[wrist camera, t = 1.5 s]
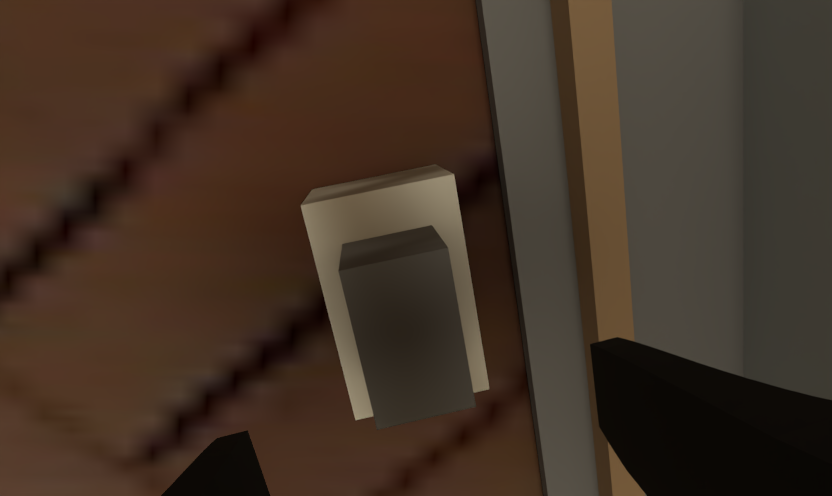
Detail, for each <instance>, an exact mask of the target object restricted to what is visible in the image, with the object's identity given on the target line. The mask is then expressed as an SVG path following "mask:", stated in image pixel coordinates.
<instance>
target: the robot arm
mask: <svg viewBox="0 0 832 496" xmlns="http://www.w3.org/2000/svg"><path fill="white" fill-rule="evenodd" d="M590 350H591V359H592V368H593V377H594V386H595V395H596V404H597V413H598V423H599V427H600V429H601V431H602V432H603V434H604V436H605V437H606V439H607V441H608V442H609V444H610V445H611V447H612V449H613V450H614V452H615V453H616V455H617V457H618V458H619V460H620V461H621V463H622V464H623V466H624V467H625V469H626V470H627V471H628V473H629V474H630V475H631V476H632V478H633V479H634V480H635V481H636V483H637V484H638V485H639V486H640V488H641V489H642V490H643V491H644V493H645V494H646V495H647V496H832V400H829V399H824V398H820V397H815V396H811V395H807V394H803V393H799V392H795V391H791V390H787V389H784V388H780V387H777V386H773V385H770V384H766V383H762V382H759V381H755V380H752V379H748V378H745V377H742V376H738V375H735V374H732V373H729V372H725V371H722V370H719V369H716V368H713V367H710V366H707V365H704V364H701V363H698V362H695V361H692V360H689V359H686V358H683V357H680V356H677V355H674V354H671V353H668V352H665V351H662V350H659V349H656V348H653V347H650V346H647V345H644V344H641V343H637V342H634V341H631V340H627V339H623V338H619V337H616V338H612V339H608V340H604V341H600V342H596V343H592V344H590ZM161 496H270V494H269V491H268V488H267V485H266V482H265V479H264V476H263V474H262V471H261V468H260V465H259V462H258V459H257V456H256V453H255V450H254V448H253V445H252V442H251V439H250V436H249V433H248V431H244V432H240V433H236V434H232V435H228V436H224V437H220V438H217V439H216V440H215V441H213V442H212V443H211V444H210V445H209V446H208V447H207V448H206V449H205V450H204V451H203V452H202V453H201V454H200V455H199V456H198V457H197V458H196V459H195V460H194V461H193V462H192V464H191V465H190V466H189V467H188V468H187V469H186V470H185V471H184V472H183V473H182V474H181V475H180V476H179V477H178V478H177V480H176V481H175V482H174V483H173V484H172V485H171V486H170V487H169V488H168V489H167V490H166V491H165V492H164V493H163V494H162V495H161Z"/></svg>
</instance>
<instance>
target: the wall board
mask: <svg viewBox="0 0 832 496" xmlns="http://www.w3.org/2000/svg"><path fill="white" fill-rule="evenodd" d="M476 7H477V14H478V22H479V29H480V36H481V44H482V51H483V58H484V65H485V73H486V80H487V87H488V95H489V102H490V109H491V116H492V124H493V131H494V138H495V146H496V153H497V160H498V167H499V175H500V182H501V189H502V197H503V204H504V211H505V218H506V226H507V233H508V240H509V248H510V255H511V262H512V269H513V277H514V284H515V291H516V299H517V306H518V313H519V321H520V328H521V335H522V342H523V350H524V357H525V364H526V372H527V379H528V386H529V393H530V401H531V408H532V415H533V423H534V430H535V437H536V444H537V452H538V459H539V466H540V474H541V481H542V488H543V495H544V496H647V495H646V494H645V493H644V491H643V490H642V489H641V488H640V486H639V485H638V484H637V483H636V481H635V480H634V479H633V478H632V476H631V475H630V474H629V473H628V471H627V470H626V469H625V467H624V466H623V464H622V463H621V461H620V460H619V458H618V457H617V455H616V453H615V452H614V450H613V449H612V447H611V445H610V444H609V442H608V441H607V439H606V437H605V436H604V434H603V432H602V431H601V429H600V427H599V423H598V413H597V404H596V395H595V386H594V377H593V368H592V359H591V350H590V344H592V343H596V342H600V341H604V340H608V339H612V338H616V337H619V338H623V339H627V340H631V341H634V342H637V343H641V344H644V345H647V346H650V347H653V348H656V349H659V350H662V351H665V352H668V353H671V354H674V355H677V356H680V357H683V358H686V359H689V360H692V361H695V362H698V363H701V364H704V365H707V366H710V367H713V368H716V369H719V370H722V371H725V372H729V373H732V374H735V375H738V376H742V377H745V378H748V379H752V380H755V381H759V382H762V383H766V384H770V385H773V386H777V387H780V388H784V389H787V390H791V391H795V392H799V393H803V394H807V395H811V396H815V397H820V398H824V399H829V400H832V0H476Z"/></svg>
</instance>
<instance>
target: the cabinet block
mask: <svg viewBox="0 0 832 496" xmlns="http://www.w3.org/2000/svg"><path fill="white" fill-rule="evenodd" d="M301 209H302V213H303V217H304V221H305V225H306V229H307V233H308V237H309V240H310V244H311V248H312V252H313V256H314V260H315V264H316V268H317V272H318V276H319V279H320V283H321V287H322V291H323V295H324V299H325V303H326V307H327V311H328V315H329V319H330V322H331V326H332V330H333V334H334V338H335V342H336V346H337V350H338V354H339V358H340V361H341V365H342V369H343V373H344V377H345V381H346V385H347V389H348V393H349V397H350V401H351V404H352V408H353V412H354V416H355V420H359V419H363V418H367V417H372V416H374V419H375V423H376V427H377V430H379V429H383V428H387V427H392V426H396V425H400V424H404V423H409V422H413V421H417V420H421V419H426V418H430V417H434V416H438V415H443V414H447V413H451V412H455V411H460V410H464V409H468V408H472V407H476V404H475V398H474V393H475V392H479V391H483V390H488V389H489V383H488V377H487V371H486V365H485V359H484V353H483V347H482V341H481V335H480V329H479V323H478V317H477V311H476V305H475V299H474V292H473V286H472V280H471V274H470V268H469V262H468V256H467V250H466V244H465V238H464V232H463V226H462V220H461V214H460V208H459V201H458V195H457V189H456V183H455V177H454V174H453V173H451V172H449V171H447V170H445V169H443V168H441V167H440V166H438V165H436V164H435V165H430V166H425V167H420V168H415V169H410V170H405V171H400V172H396V173H391V174H386V175H381V176H376V177H371V178H366V179H361V180H356V181H351V182H346V183H341V184H336V185H331V186H326V187H321V188H316V189H312V190H311V192H310V193H309V194H308V196H307V197H306V199H305V200H304V201H303V203H302V204H301Z"/></svg>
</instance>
